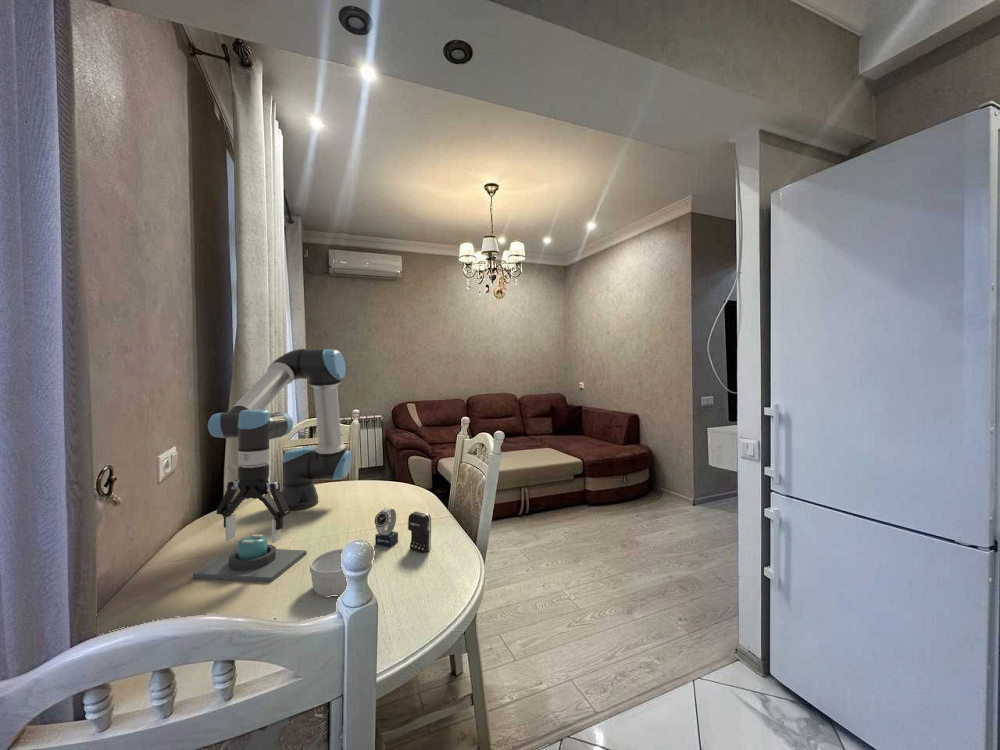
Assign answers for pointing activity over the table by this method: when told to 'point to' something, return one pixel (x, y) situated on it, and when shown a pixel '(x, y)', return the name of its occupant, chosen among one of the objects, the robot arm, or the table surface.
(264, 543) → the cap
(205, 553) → the table surface
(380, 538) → the watch
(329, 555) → the ramekin
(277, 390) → the robot arm
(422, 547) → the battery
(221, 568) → the plate with oval ring
